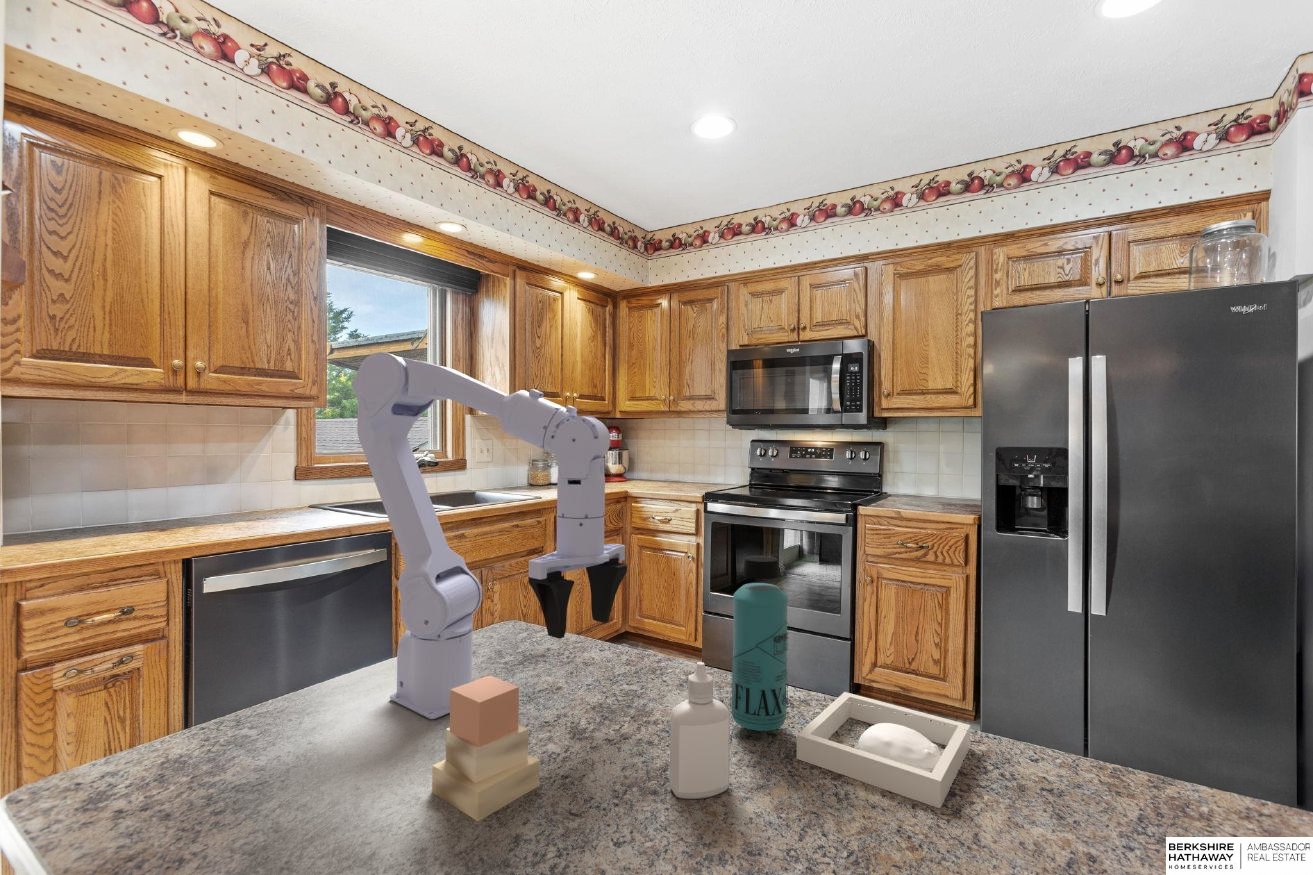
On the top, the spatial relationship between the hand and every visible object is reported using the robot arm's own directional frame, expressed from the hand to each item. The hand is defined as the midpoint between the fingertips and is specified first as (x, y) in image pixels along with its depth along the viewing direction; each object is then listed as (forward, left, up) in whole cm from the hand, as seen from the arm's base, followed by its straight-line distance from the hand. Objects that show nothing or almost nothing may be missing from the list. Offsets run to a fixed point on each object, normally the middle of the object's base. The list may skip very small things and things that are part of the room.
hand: (579, 628), depth 74 cm
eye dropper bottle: (+20, -4, -11) cm, 23 cm away
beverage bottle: (+19, +10, -11) cm, 24 cm away
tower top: (+4, -16, -8) cm, 19 cm away
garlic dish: (+32, +14, -10) cm, 36 cm away
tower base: (+4, -17, -11) cm, 20 cm away
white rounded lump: (+34, +12, -11) cm, 38 cm away
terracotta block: (+4, -17, -5) cm, 18 cm away
